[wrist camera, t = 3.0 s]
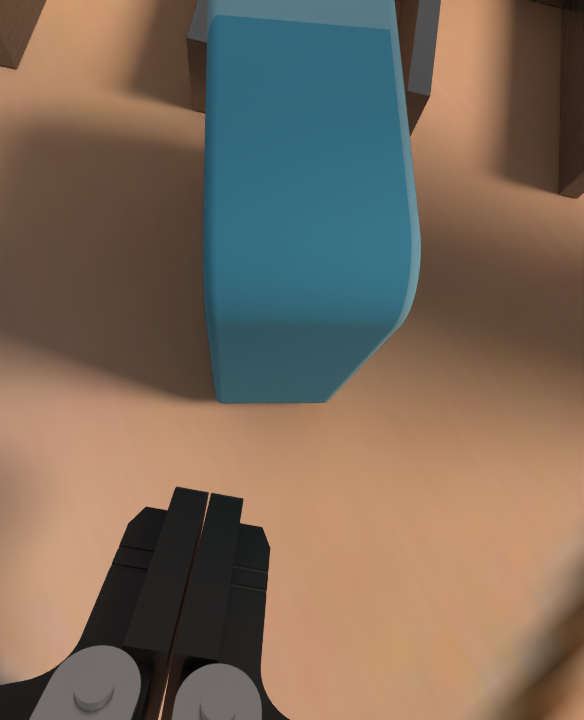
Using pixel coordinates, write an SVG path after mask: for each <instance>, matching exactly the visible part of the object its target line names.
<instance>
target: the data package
mask: <svg viewBox="0 0 584 720" xmlns="http://www.w3.org/2000/svg"><path fill="white" fill-rule="evenodd" d="M420 259H421V236H420V225H419V216H418V207H417V198H416V189H415V180H414V171H413V162H412V153H411V144H410V135H409V126H408V117H407V108H406V99H405V90H404V81H403V72H402V63H401V54H400V45H399V36H398V27H397V18H396V9H395V0H208V11H207V62H206V113H205V164H204V215H203V280H204V305H205V317H206V325H207V333H208V341H209V349H210V357H211V365H212V373H213V380H214V388H215V396H216V400H217V401H218V402H219V403H325V402H327V401H329V400H330V399H331V398H332V397H333V396H334V395H335V394H336V392H337V391H338V390H339V389H340V388H341V387H342V386H343V385H344V384H345V383H346V382H347V381H348V380H349V379H350V378H351V377H352V376H353V375H354V374H355V373H356V372H357V371H358V370H359V369H360V367H361V366H362V365H363V364H364V363H365V362H366V361H367V360H368V359H369V358H370V357H371V356H372V355H373V354H374V353H375V352H376V351H377V350H378V349H379V348H380V347H381V346H382V345H383V343H384V342H385V341H386V340H387V339H388V338H389V337H390V336H391V335H392V334H393V333H394V332H395V331H396V330H397V329H398V328H399V327H400V326H401V325H402V323H403V322H404V321H405V319H406V317H407V316H408V313H409V311H410V309H411V306H412V303H413V300H414V297H415V293H416V289H417V284H418V278H419V270H420Z"/></svg>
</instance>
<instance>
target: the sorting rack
mask: <svg viewBox="0 0 584 720" xmlns="http://www.w3.org/2000/svg"><path fill="white" fill-rule="evenodd" d="M45 1H46V0H0V65H1V66H5V67H10V68H14V69H17V68H18V65H19V63H20V60H21V58H22V56H23V53H24V51H25V49H26V46H27V44H28V42H29V39H30V37H31V35H32V32H33V30H34V27H35V25H36V23H37V20H38V18H39V16H40V13H41V11H42V9H43V6H44V4H45ZM534 1H537V2H541V3H545V4H549V5H553V6H557V7H561V8H562V50H561V110H560V169H559V194H560V195H564V196H569V197H573V198H579V197H580V196H581V195H582V194H583V193H584V0H534ZM440 4H441V0H402V7H401V14H400V21H399V28H398V36H399V45H400V54H401V63H402V72H403V81H404V90H405V99H406V108H407V117H408V126H409V135H410V136H411V134H412V132H413V130H414V128H415V126H416V124H417V122H418V120H419V118H420V116H421V114H422V111H423V109H424V107H425V105H426V103H427V101H428V99H429V97H430V92H431V84H432V75H433V66H434V57H435V48H436V39H437V30H438V21H439V12H440ZM207 11H208V0H198V1H197V5H196V8H195V11H194V14H193V18H192V21H191V24H190V28H189V31H188V34H187V37H186V38H187V49H188V60H189V71H190V82H191V93H192V104H193V110H196V111H200V112H205V113H206V62H207Z"/></svg>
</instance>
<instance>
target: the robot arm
mask: <svg viewBox="0 0 584 720" xmlns="http://www.w3.org/2000/svg"><path fill="white" fill-rule="evenodd" d="M208 494H209V492H203V491H198V490H192V489H187V488H182V487H176V488H175V490H174V493H173V496H172V499H171V502H170V505H169V508H168V511H167V510H162V509H156V508H151V507H145V508H144V509H143V510H142V511H141V512H140V513H139V514H138V515H137V516H136V517H135V518H134V519H133V520H131V521H130V522H129V523H128V526H127V528H126V531H125V533H124V535H123V538H122V540H121V543H120V545H119V549H118V550H117V552H116V555H115V557H114V559H113V562H112V566H111V568H110V569H109V571H108V574H107V576H106V579H105V581H104V583H103V586H102V588H101V591H100V593H99V595H98V598H97V600H96V603H95V605H94V607H93V610H92V612H91V615H90V617H89V619H88V622H87V624H86V627H85V629H84V631H83V634H82V636H81V638H80V640H79V642H78V644H77V646H76V647H75V648H74V650H73V651H72V652H71V654H70V655H69V656H68V657H67V658H66V659H65V660H64V661H63V662H61V663H60V664H59V665H58V666H56V667H55V668H53V669H52V670H50V671H48V672H47V673H45V674H43V675H40V676H38V677H35V678H33V679H29V680H25V681H21V682H15V683H10V684H4V685H0V720H158V717H159V713H160V709H161V705H162V700H163V696H164V692H165V688H166V684H167V689H166V695H165V700H164V706H163V712H162V717H161V720H289V719H288V718H286V717H285V716H284V715H283V714H281V713H280V712H279V711H278V710H277V709H276V707H275V706H274V705H273V704H272V702H271V701H270V699H269V698H268V696H267V694H266V691H265V689H264V686H263V683H262V678H261V654H262V642H263V630H264V618H265V605H266V590H267V581H268V569H269V557H270V546H269V544H268V541H267V538H266V536H265V533H264V530H263V528H262V527H258V526H252V525H247V524H241V523H240V518H241V512H242V505H243V498H237V497H232V496H226V495H221V494H215V493H211V497H210V501H209V505H208V509H207V513H206V517H205V521H204V516H205V511H206V506H207V500H208ZM203 522H204V526H203ZM202 527H203V530H202ZM201 532H202V534H201ZM169 671H170V672H169ZM168 675H169V678H168ZM167 679H168V683H167Z"/></svg>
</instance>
